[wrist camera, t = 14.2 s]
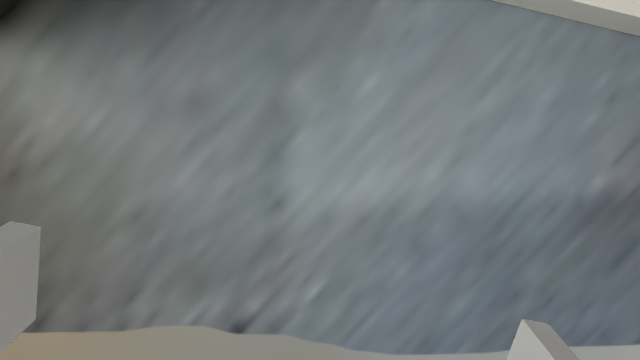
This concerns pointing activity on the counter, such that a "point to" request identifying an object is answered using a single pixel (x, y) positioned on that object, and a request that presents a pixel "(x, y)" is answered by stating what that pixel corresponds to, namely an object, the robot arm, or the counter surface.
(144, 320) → the counter surface
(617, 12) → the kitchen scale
